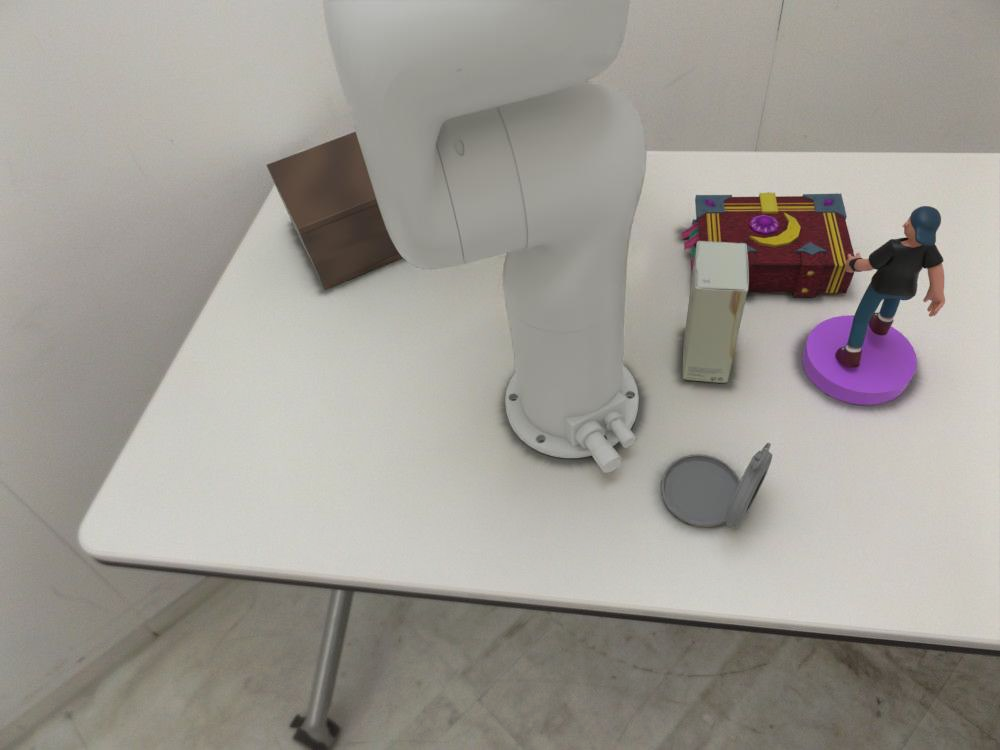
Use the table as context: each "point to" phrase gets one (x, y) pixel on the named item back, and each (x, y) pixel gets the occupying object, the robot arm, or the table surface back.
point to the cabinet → (334, 209)
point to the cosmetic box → (715, 310)
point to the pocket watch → (713, 489)
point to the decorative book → (780, 239)
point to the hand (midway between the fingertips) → (479, 152)
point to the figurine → (878, 319)
